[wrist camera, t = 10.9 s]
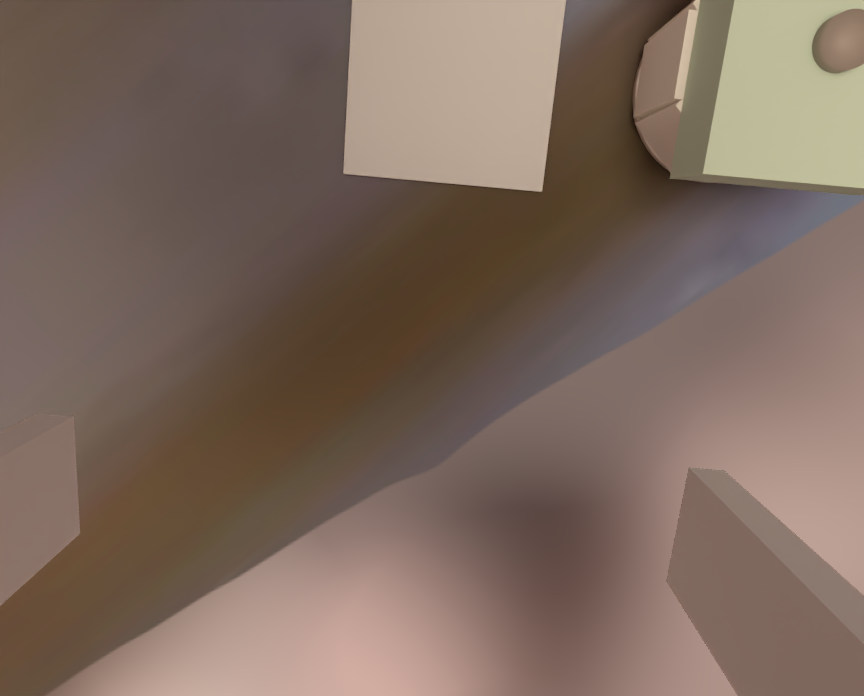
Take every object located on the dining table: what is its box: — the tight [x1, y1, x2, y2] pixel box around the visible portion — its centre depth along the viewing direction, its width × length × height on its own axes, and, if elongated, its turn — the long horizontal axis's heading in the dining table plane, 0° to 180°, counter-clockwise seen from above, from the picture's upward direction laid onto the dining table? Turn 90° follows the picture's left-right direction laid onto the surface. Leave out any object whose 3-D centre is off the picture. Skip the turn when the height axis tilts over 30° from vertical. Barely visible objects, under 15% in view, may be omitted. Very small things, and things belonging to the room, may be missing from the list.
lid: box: [670, 0, 864, 195], centre depth 28 cm, size 12×10×5 cm
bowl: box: [632, 0, 714, 183], centre depth 34 cm, size 11×11×8 cm
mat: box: [343, 0, 566, 192], centre depth 37 cm, size 14×13×1 cm
